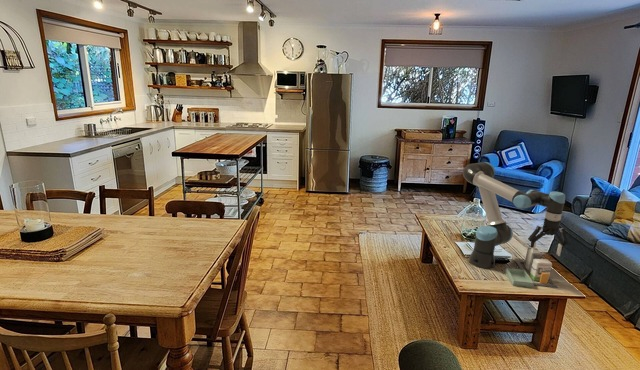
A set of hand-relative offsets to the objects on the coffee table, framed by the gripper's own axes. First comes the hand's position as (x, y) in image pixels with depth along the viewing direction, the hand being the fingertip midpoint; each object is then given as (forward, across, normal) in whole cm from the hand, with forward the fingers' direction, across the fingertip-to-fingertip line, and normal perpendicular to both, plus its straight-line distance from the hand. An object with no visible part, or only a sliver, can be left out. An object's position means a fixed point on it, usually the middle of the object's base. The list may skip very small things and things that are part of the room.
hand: (545, 253), depth 209 cm
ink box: (+17, 0, 0) cm, 17 cm away
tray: (+16, -13, -4) cm, 21 cm away
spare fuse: (+16, 0, +12) cm, 21 cm away
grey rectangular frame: (+16, 0, +6) cm, 18 cm away
